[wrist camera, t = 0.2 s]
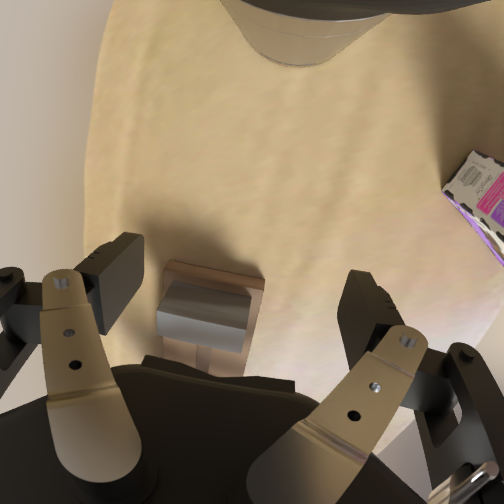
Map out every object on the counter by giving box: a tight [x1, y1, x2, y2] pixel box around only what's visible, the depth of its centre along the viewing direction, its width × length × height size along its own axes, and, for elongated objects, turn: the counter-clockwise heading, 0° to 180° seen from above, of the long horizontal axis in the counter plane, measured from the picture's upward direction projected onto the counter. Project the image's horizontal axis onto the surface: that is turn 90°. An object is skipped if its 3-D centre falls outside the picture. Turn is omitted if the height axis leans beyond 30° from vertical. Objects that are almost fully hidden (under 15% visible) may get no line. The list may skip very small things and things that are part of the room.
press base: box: [157, 260, 265, 377], centre depth 35 cm, size 22×10×7 cm, turn 170°
